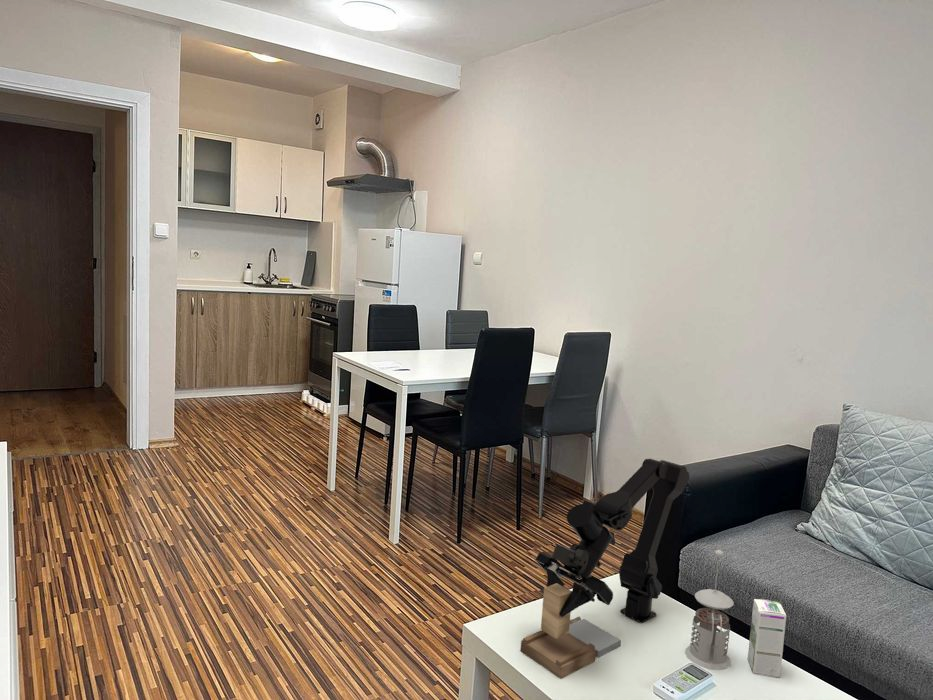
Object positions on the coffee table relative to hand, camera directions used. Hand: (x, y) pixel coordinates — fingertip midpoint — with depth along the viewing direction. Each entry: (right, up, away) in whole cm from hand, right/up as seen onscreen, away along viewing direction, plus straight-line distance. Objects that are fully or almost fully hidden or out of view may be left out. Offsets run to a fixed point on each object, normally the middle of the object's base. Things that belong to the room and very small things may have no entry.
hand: (552, 610), depth 143 cm
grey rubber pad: (+10, -11, +10) cm, 18 cm away
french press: (+35, -13, +6) cm, 38 cm away
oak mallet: (+3, -5, +3) cm, 7 cm away
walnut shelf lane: (+2, -11, +3) cm, 12 cm away
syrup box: (+47, -14, +3) cm, 49 cm away
